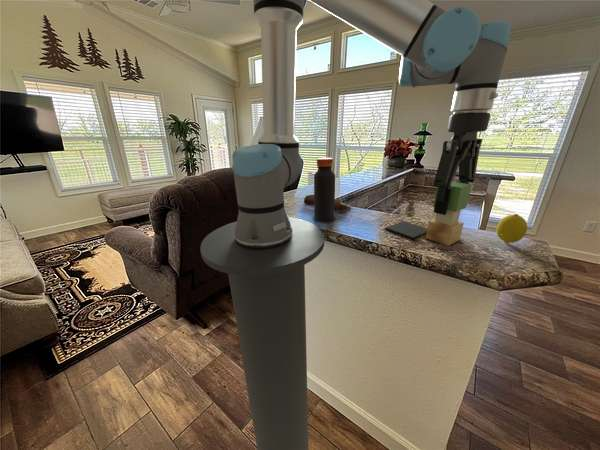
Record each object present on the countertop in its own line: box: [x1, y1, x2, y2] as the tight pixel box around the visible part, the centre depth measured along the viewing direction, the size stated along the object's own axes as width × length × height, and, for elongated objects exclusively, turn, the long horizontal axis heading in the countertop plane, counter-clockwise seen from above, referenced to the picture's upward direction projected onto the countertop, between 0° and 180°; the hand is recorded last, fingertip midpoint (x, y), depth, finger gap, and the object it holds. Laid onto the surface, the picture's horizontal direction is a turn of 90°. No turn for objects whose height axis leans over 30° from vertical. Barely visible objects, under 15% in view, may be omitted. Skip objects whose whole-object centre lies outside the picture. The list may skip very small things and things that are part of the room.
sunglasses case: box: [303, 194, 352, 213], centre depth 93 cm, size 18×7×7 cm
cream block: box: [434, 210, 462, 226], centre depth 61 cm, size 4×4×4 cm
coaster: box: [384, 220, 428, 240], centre depth 69 cm, size 9×9×1 cm
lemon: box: [496, 213, 528, 244], centre depth 59 cm, size 6×6×8 cm
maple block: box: [425, 218, 464, 247], centre depth 63 cm, size 6×6×5 cm
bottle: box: [313, 157, 336, 223], centre depth 77 cm, size 7×7×20 cm
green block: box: [432, 181, 472, 212], centre depth 59 cm, size 6×6×6 cm
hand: (448, 209), depth 60 cm, fingers open, 8 cm apart
